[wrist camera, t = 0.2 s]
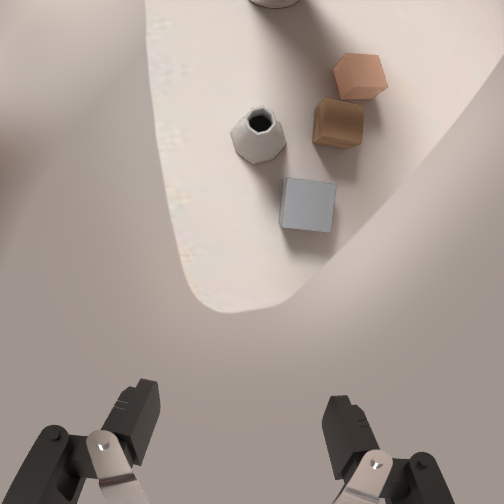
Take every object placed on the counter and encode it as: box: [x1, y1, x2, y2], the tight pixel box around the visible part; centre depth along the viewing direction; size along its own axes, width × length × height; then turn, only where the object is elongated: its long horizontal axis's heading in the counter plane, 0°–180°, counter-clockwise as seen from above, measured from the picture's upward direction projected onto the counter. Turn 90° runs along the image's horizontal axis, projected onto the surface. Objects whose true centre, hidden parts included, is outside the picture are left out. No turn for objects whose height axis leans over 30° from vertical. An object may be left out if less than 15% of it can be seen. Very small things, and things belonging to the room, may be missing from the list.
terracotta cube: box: [333, 53, 388, 99], centre depth 30 cm, size 5×5×6 cm
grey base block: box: [279, 178, 336, 233], centre depth 35 cm, size 6×6×5 cm
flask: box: [230, 106, 286, 164], centre depth 31 cm, size 7×7×10 cm
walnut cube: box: [312, 97, 363, 149], centre depth 32 cm, size 5×5×6 cm
